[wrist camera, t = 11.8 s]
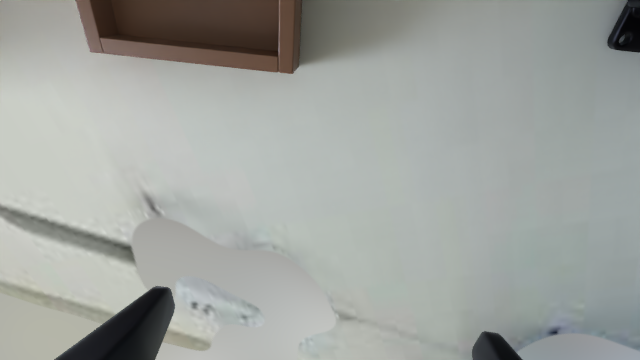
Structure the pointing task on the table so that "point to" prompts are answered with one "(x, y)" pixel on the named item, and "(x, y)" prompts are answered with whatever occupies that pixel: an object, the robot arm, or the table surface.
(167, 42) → the desk tray
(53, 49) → the table surface
